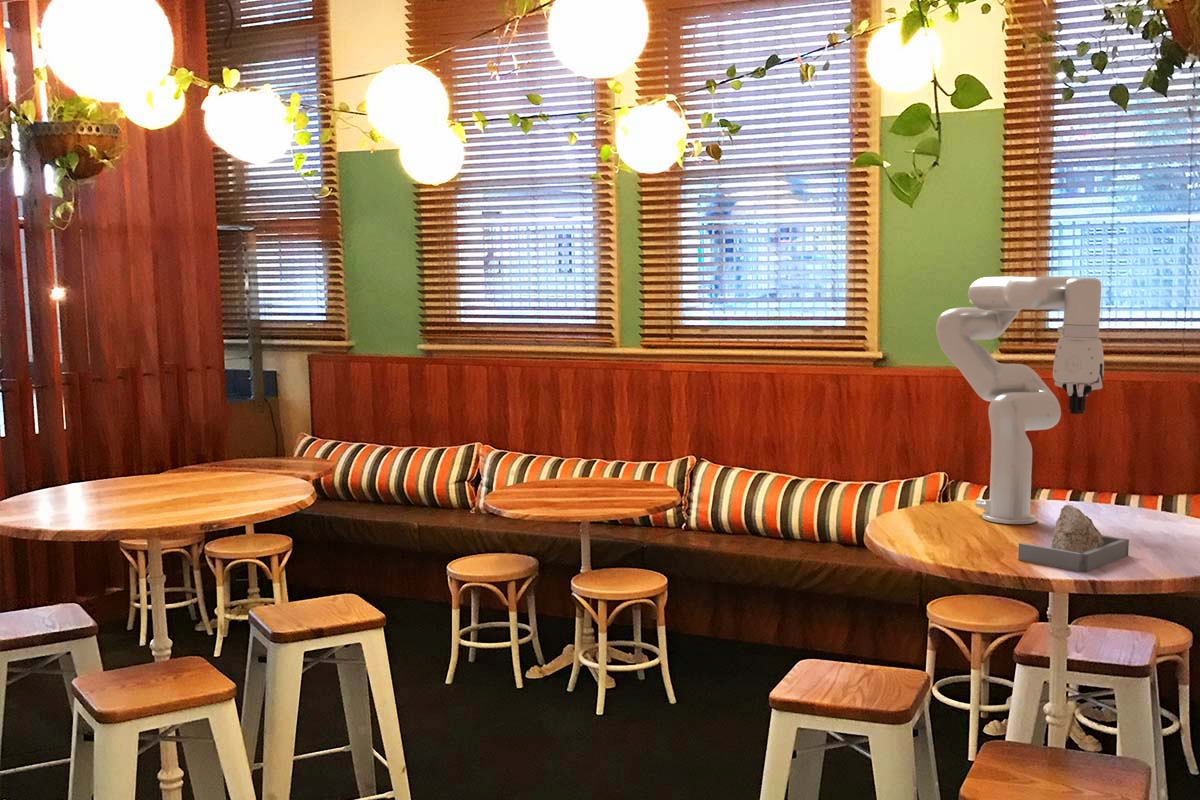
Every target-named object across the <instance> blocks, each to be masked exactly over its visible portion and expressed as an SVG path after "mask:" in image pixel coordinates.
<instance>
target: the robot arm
mask: <svg viewBox="0 0 1200 800" xmlns="http://www.w3.org/2000/svg"><path fill="white" fill-rule="evenodd" d="M1101 296H1102V282H1101V281H1100V279H1098V278H1093V277H1073V276H1071V277H1070V276H1027V277H1026V276H1022V275H1005V276H1003V275H1002V276H999V275H998V276H983V277H980V278H977V280H975V281H973V282H972V283H971V284H970V286H969V288H968V291H967V297H968V300H969V303H971V304H972V307H968V306H967V307H955V308H950V309H948V310H945V311H944V312H942V313H941V314H940V315H939V316H938V318H937V321H936V325H935V330H936V332H935V333H936V339H937V342H938V345H939V347H940V349H941V351H942V352H943V354H944V355H945V356H946V357H947V358H948V360H949V361H950V362H951V363H952V364H953V365H954V366H955V367H956V368H957V369H958V370H959V371H960V373H961V375H963V377H964V378H965V380H966V381H967V383H969V385H970V386H971V388H972V389H973V390H974V392H975V393H976V394H977V396H978V397H979V398H981V399H982V400H984V401H985V402H990V403H989V405H988V421H989V426H990V435H991V437H990V438H991V444H990V445H991V446H990V447H991V449H990V450H991V451H990V476H989V477H990V478H989V481H990V482H989V499H988V498H987V499H983V498H976V499H975V500H976V501H975V507H976V508H983V509H984V511H983V512H982V514H981V516H982V519H983V520H985V521H987V522H992V523H997V524H1006V525H1030V524H1034V523H1037V516H1036V515H1034V514H1032V513H1031V496H1032V495H1031V493H1032V492H1031V491H1032V473H1033V472H1032V469H1033V448H1032V447H1033V446H1032V443H1031V441H1030V440H1029V437H1028V435H1027V434H1026V433H1027V431H1043V430H1050V429H1052V428H1053V427H1055V426H1056V425H1058V423H1059V421H1060V419H1061V417H1062V411H1061V405H1060V402H1059V400H1058V399H1057V397H1056V395H1055V394H1054V392H1052V390H1051V389H1050V387H1048V386H1047V384H1046V383H1045V382H1044V381H1043V380H1042V378H1041V377H1040V376H1039V375H1038V373H1037V372H1036V371H1035V370H1034V369H1033V368H1031V367H1030V366H1028V365H1025V364H1022V363H1001V362H999V361H997V360H996V359H995V358H994V357H993V356H992V354H991V353H990V352H989V351H988V350H987V349H986V348H985V347H984V346H983V345H981V344H979V343H978V342H976V341H987V340H988V341H989V340H994V339H997V338H999V337H1000V336H1002V335H1003V334H1004V332H1005V331H1006V330H1007V329H1008V328H1009V326H1010V325H1011V324H1012V322H1013V321H1014V320H1015V318H1016V317H1017V316H1018V314H1019V313H1021V311H1022V310H1033V311H1034V310H1037V311H1038V310H1039V311H1040V310H1056V311H1057V310H1060V311H1061V310H1063V324H1062V326H1058V328H1057V333H1059V334H1061V336H1062V337H1061V338H1058V341H1057V344H1056V347H1055V352H1054V353H1055V354H1054V359H1053V365H1052V366H1053V367H1052V379H1053V380H1054V383H1053V384H1054V386H1055V387H1059V388H1061V389H1063V390H1064V391H1065V392H1066V393H1067V396H1068V397H1069V400H1068V401H1069V402H1068V409H1069V413H1070V414H1071V415H1081V414H1084V411H1085V410H1086V398H1087V397H1088V396H1089V394H1090V393H1091V392H1092V391H1095V390H1096V391H1097V390H1101V389H1103V380H1104V376H1105V375H1104V374H1105V359H1104V348H1103V343H1102V339H1099V337H1100V319H1101Z"/></svg>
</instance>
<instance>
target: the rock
mask: <svg viewBox="0 0 1200 800" xmlns="http://www.w3.org/2000/svg"><path fill="white" fill-rule="evenodd" d="M1053 530H1054V531H1053V534H1052V538H1051V548H1055V549H1060V550H1066V551H1072V552H1077V553H1084V552H1087V551H1090V550H1093V549H1096V548H1098V547H1101V546H1103V544H1104V542H1103V537H1102V533H1101V532H1100V531H1099V529H1098V528H1097V526H1096V525H1095V524H1094V523H1093V520H1092V518H1090V517H1089V516H1088V515H1085V513H1083V512H1082V511H1081V509H1079V508H1077V507H1075V506H1073V504H1072V505H1070V504H1065V505H1064V506H1063V507H1062V508H1061V509H1060V514H1059V517H1058V518H1057V520H1056V521H1055V525H1054V529H1053Z"/></svg>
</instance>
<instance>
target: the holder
mask: <svg viewBox="0 0 1200 800" xmlns="http://www.w3.org/2000/svg"><path fill="white" fill-rule="evenodd" d="M1101 535H1102V534H1101ZM1102 537H1103V542H1104V544H1103V546H1101V547H1098V548H1096V549H1093V550H1090V551H1087V552H1084V553H1077V552H1072V551H1066V550H1060V549H1055V548H1052V547H1048V546H1042V545H1036V544H1033V543H1032V544H1031V543H1025V542H1019V543H1018V550H1017V551H1018V553H1017V555H1018V557H1017V558H1018V559H1017V560H1019V561H1022V562H1028V563H1032V564H1039V565H1043V566H1044V565H1045V566H1048V567H1049V566H1050V567H1054V568H1055V567H1056V568H1059V569H1060V568H1061V569H1066V570H1071V571H1076V572H1082V573H1086V572H1088V571H1091V570H1094V569H1096V568H1099V567H1101V566H1105V565H1107V564H1110V563H1112V562H1115V561H1117V560H1120V559H1122V558H1125V557H1128V556H1129V549H1130V548H1129V546H1130V545H1129V544H1130V542H1129V541H1130V539H1128V538H1121V537H1116V536H1110V535H1109V536H1108V535H1104V534H1103V535H1102Z"/></svg>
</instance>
